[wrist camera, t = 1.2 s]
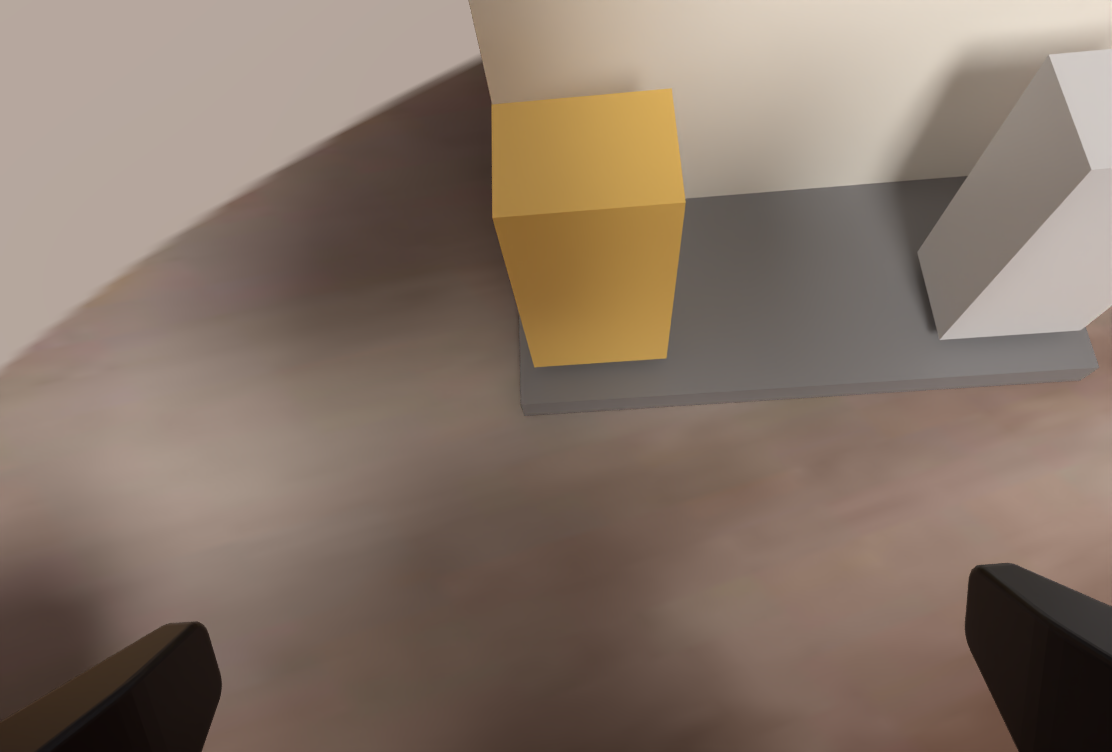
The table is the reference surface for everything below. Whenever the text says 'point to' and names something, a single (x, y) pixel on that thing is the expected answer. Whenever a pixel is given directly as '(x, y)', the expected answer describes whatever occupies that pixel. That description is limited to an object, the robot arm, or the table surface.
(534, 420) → the table surface
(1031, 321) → the light grey block
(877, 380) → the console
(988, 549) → the table surface
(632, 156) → the amber block
